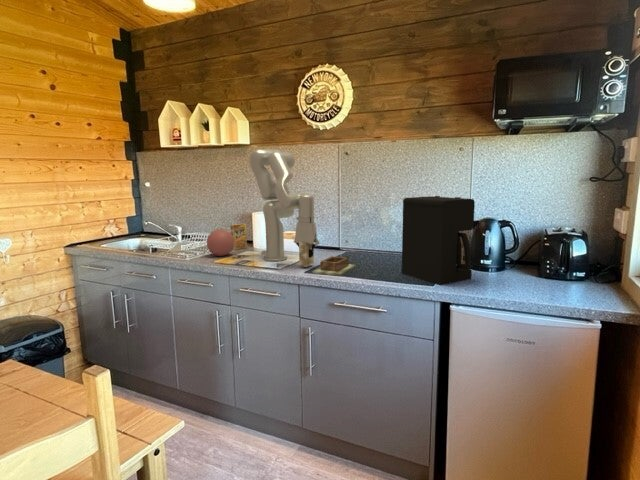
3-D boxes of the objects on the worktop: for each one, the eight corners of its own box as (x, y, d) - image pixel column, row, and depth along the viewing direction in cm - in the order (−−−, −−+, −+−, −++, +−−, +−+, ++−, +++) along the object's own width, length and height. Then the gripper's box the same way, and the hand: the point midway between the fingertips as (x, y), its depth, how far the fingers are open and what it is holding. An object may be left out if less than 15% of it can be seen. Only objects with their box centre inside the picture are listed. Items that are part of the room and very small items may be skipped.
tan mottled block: (299, 266, 204) (298, 242, 201) (306, 262, 211) (306, 239, 209) (306, 266, 202) (306, 242, 200) (313, 263, 209) (313, 240, 207)
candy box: (234, 249, 254) (232, 225, 252) (231, 248, 258) (230, 224, 255) (247, 248, 259) (246, 223, 257) (244, 247, 263) (243, 223, 260)
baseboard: (163, 254, 247) (184, 253, 248) (163, 249, 247) (183, 248, 248) (175, 245, 278) (194, 244, 279) (175, 240, 277) (193, 240, 278)
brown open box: (312, 273, 194) (312, 262, 193) (330, 264, 211) (330, 254, 211) (339, 276, 188) (339, 265, 187) (356, 266, 205) (356, 256, 204)
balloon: (243, 252, 246) (242, 226, 243) (226, 259, 227) (224, 231, 225) (221, 251, 251) (219, 225, 248) (202, 257, 232) (200, 230, 229)
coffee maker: (480, 280, 176) (484, 198, 171) (447, 287, 167) (450, 200, 161) (432, 268, 201) (434, 195, 195) (401, 273, 191) (402, 197, 185)
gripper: (287, 219, 203) (288, 256, 206) (318, 221, 195) (318, 259, 199) (295, 218, 209) (295, 253, 212) (325, 220, 202) (325, 256, 205)
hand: (306, 256), depth 205 cm, fingers closed on tan mottled block, 4 cm apart
